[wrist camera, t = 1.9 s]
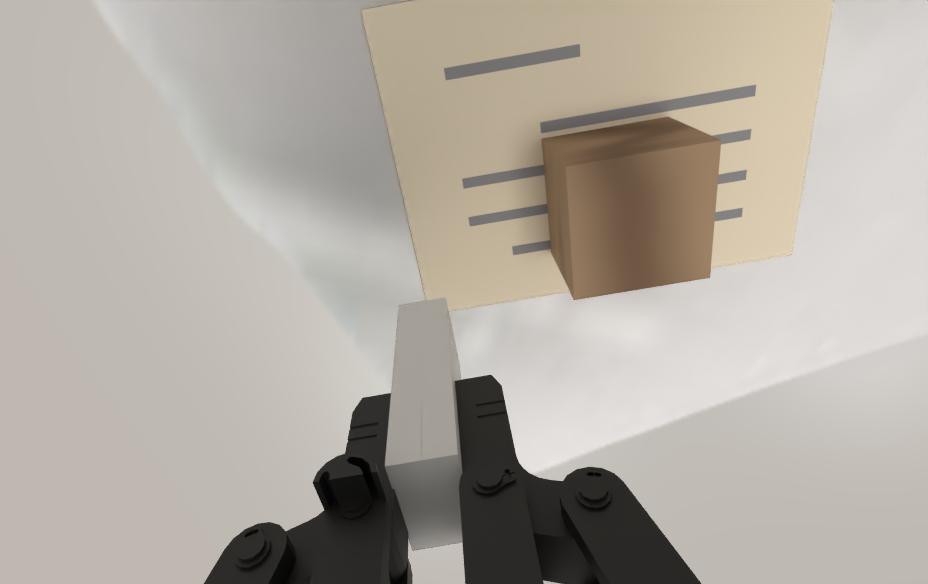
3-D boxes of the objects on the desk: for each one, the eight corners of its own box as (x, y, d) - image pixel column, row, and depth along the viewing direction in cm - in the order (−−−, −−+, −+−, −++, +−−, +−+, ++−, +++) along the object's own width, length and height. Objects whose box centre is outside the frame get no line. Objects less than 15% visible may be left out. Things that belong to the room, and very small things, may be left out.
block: (668, 116, 24) (721, 139, 20) (664, 234, 27) (709, 277, 23) (541, 138, 24) (565, 166, 20) (551, 253, 27) (574, 299, 23)
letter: (843, -79, 21) (847, -80, 21) (789, 253, 28) (792, 254, 28) (361, 9, 21) (360, 10, 21) (429, 312, 29) (429, 314, 28)
